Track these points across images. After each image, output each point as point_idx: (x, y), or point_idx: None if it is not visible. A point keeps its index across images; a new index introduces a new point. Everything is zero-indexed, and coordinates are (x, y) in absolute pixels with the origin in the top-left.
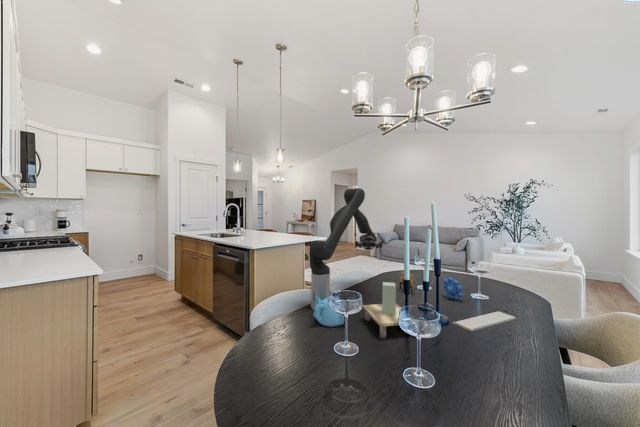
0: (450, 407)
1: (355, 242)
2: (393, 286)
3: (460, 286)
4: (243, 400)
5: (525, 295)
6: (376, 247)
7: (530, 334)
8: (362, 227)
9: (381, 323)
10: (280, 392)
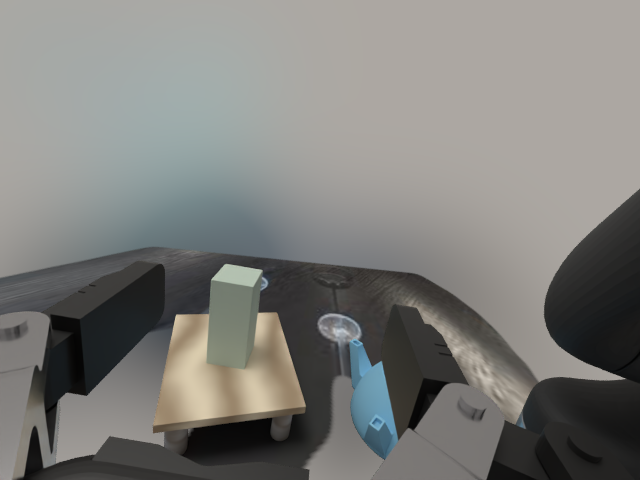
0: (240, 261)
1: (613, 460)
2: (232, 266)
3: None
4: (418, 282)
5: None
6: (163, 300)
7: None
8: None
9: (273, 314)
10: (393, 284)
